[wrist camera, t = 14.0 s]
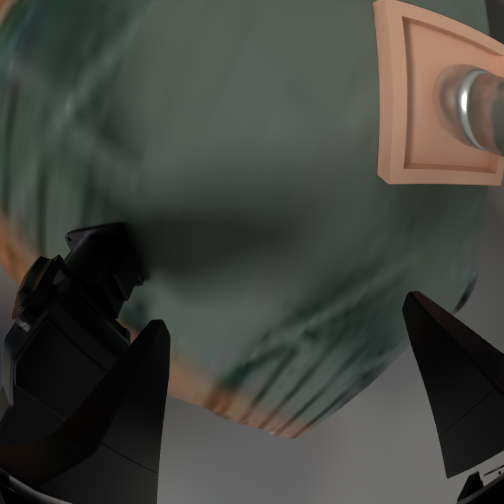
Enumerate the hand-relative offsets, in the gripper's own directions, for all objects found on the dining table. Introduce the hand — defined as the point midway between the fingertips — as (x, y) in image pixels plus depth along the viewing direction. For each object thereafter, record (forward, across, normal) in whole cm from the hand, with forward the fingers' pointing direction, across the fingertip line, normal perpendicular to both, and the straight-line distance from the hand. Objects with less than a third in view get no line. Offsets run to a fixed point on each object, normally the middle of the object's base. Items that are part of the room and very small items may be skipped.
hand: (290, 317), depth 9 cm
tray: (+13, -16, -7) cm, 22 cm away
